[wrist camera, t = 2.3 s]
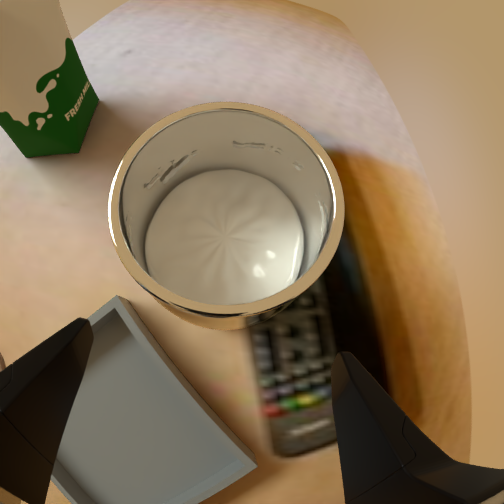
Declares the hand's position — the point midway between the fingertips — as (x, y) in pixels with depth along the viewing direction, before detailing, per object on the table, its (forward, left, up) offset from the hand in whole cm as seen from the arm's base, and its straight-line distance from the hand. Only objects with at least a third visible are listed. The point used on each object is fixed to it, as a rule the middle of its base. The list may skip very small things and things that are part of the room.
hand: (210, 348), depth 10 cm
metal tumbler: (+3, -3, -12) cm, 13 cm away
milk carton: (+26, +1, -12) cm, 29 cm away
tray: (-1, +11, -12) cm, 16 cm away
